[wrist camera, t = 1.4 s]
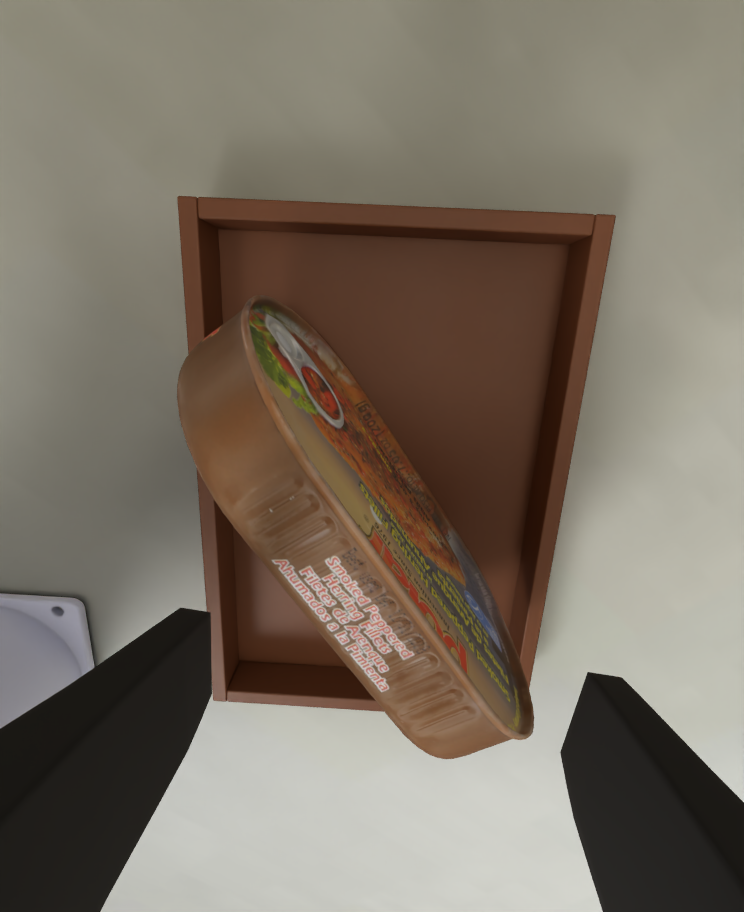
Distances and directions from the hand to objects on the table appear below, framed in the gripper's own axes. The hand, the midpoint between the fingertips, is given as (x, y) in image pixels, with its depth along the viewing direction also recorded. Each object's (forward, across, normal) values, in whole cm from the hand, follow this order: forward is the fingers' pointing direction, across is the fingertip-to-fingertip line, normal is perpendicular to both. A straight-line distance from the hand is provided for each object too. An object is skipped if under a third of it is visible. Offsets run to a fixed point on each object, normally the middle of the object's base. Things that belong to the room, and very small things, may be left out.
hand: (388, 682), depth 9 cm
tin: (+10, +1, 0) cm, 10 cm away
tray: (+10, +1, 0) cm, 10 cm away
